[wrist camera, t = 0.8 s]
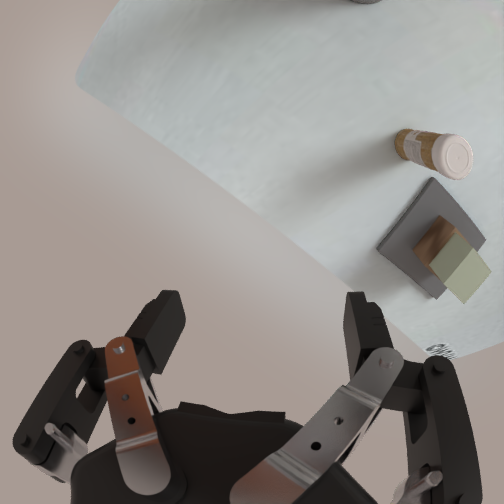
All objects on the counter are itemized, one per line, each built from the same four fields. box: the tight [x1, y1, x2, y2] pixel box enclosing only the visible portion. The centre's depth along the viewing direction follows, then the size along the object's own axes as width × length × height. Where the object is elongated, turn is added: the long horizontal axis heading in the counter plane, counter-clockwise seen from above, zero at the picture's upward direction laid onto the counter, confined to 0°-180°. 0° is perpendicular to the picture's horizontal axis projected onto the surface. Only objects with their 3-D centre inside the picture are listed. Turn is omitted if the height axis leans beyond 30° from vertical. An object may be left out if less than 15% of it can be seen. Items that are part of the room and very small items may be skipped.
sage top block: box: [429, 232, 491, 304], centre depth 29 cm, size 6×6×5 cm
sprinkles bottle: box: [395, 129, 473, 180], centre depth 26 cm, size 5×5×13 cm
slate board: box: [377, 177, 486, 300], centre depth 37 cm, size 14×16×1 cm
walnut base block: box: [412, 215, 468, 282], centre depth 34 cm, size 7×7×5 cm
